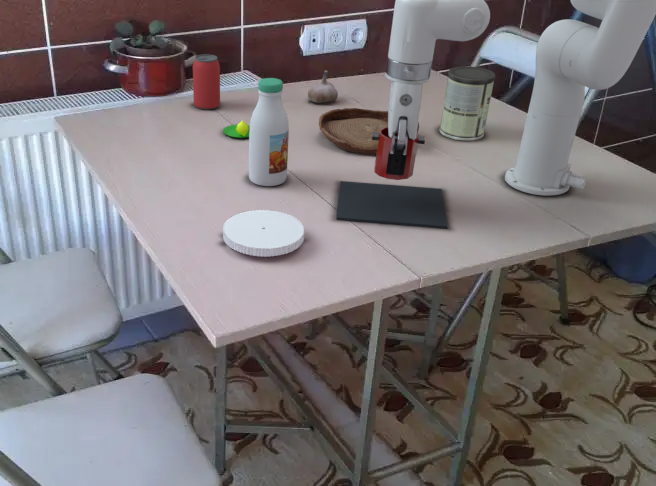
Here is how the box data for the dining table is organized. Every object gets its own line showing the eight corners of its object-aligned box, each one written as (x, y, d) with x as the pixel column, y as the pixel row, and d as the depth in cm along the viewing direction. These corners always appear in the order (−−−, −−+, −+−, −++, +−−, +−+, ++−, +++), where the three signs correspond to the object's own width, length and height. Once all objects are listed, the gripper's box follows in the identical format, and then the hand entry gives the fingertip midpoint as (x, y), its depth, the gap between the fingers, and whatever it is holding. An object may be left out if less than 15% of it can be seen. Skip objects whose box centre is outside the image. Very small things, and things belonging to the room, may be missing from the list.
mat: (441, 190, 148) (441, 188, 148) (447, 228, 135) (447, 226, 134) (340, 183, 150) (340, 180, 150) (336, 219, 137) (336, 217, 136)
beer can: (191, 102, 188) (189, 54, 182) (216, 100, 190) (215, 52, 183) (197, 111, 183) (196, 62, 176) (223, 109, 185) (222, 60, 178)
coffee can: (436, 123, 179) (446, 64, 171) (480, 126, 178) (491, 67, 171) (441, 139, 171) (451, 78, 163) (487, 142, 170) (499, 80, 162)
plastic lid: (214, 256, 125) (214, 243, 123) (232, 218, 136) (232, 206, 135) (297, 266, 123) (298, 252, 121) (308, 226, 134) (309, 214, 133)
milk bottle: (254, 189, 147) (256, 88, 136) (244, 173, 153) (245, 76, 142) (291, 185, 149) (296, 85, 138) (280, 169, 155) (284, 73, 144)
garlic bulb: (342, 100, 192) (344, 69, 188) (328, 108, 187) (331, 76, 182) (316, 94, 195) (318, 64, 191) (302, 102, 190) (304, 71, 186)
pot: (418, 166, 141) (424, 128, 137) (419, 181, 135) (426, 142, 131) (368, 162, 142) (372, 124, 138) (367, 177, 136) (372, 138, 132)
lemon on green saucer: (262, 137, 170) (263, 125, 168) (229, 141, 167) (229, 129, 166) (250, 125, 176) (250, 113, 174) (218, 129, 173) (218, 117, 172)
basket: (321, 156, 161) (323, 134, 158) (312, 123, 178) (314, 102, 175) (424, 156, 162) (428, 135, 159) (406, 123, 179) (409, 103, 176)
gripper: (433, 86, 120) (416, 187, 130) (427, 57, 135) (413, 150, 145) (386, 82, 121) (373, 183, 131) (386, 54, 135) (374, 146, 145)
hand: (394, 165), depth 138 cm, fingers closed on pot, 7 cm apart
